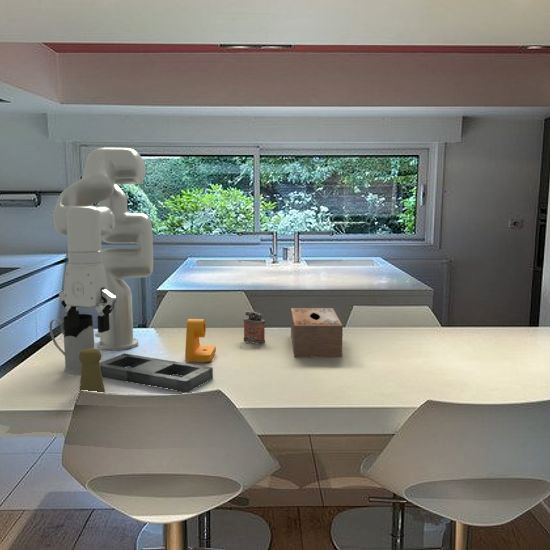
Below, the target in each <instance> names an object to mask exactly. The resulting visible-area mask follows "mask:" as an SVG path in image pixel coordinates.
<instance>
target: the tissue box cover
mask: <svg viewBox="0 0 550 550" xmlns="http://www.w3.org/2000/svg"><path fill="white" fill-rule="evenodd" d="M343 327H344V325H343V323H342V322H341V320H340V318H339V317H338V315H337V312H336V311H335V310H334V307H329V308H328V307H302V308H301V307H299V308H298V307H291V308H290V338H291V339H292V340H291V345H292V352H293V353H292V354H293V358H343V330H344V329H343Z"/></svg>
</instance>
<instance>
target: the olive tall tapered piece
mask: <svg viewBox="0 0 550 550" xmlns="http://www.w3.org/2000/svg"><path fill="white" fill-rule="evenodd" d="M79 360H80V362H81V363H82V367H81V374H80V381H79V391H81V390H88V391H97V392H104V393H106V390H105V385H104V380H103V379H104V377H102V373H101V368H100V361H101V360H102V352H101V349H100V348H95V347H94V348H88V349H84V350H82V351H81V352H80V354H79Z"/></svg>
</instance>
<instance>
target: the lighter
mask: <svg viewBox="0 0 550 550" xmlns="http://www.w3.org/2000/svg"><path fill="white" fill-rule="evenodd" d="M244 315H245V316H248V317H244V318H243V319H242V320H243V342H246V341H248V342H247V343H251V342H254V343H253V344H258V343H263V344H265V343H266V339H265V336H266V335H265V333H266V332H265V326H266V325H265V324H266V319H263V318H262V317H263V316H262V313H259V312H258V311H254V312H253V311H248V310H247V311H245V314H244Z"/></svg>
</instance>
